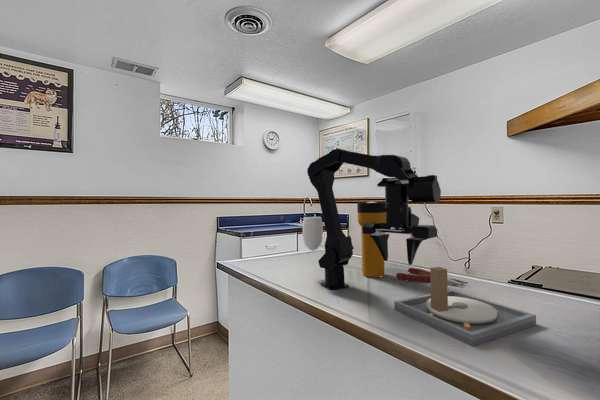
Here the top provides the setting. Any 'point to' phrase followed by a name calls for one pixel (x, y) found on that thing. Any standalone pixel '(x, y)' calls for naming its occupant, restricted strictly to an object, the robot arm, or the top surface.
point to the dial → (456, 303)
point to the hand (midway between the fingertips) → (397, 262)
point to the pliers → (426, 277)
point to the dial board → (466, 332)
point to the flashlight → (370, 251)
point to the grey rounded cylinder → (312, 232)
